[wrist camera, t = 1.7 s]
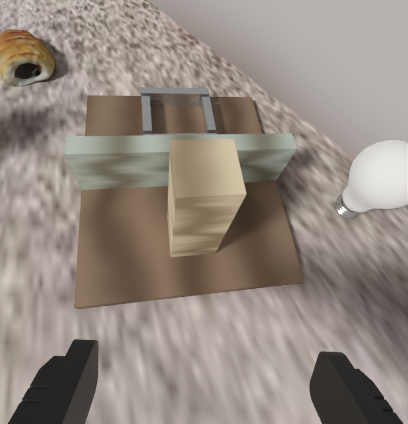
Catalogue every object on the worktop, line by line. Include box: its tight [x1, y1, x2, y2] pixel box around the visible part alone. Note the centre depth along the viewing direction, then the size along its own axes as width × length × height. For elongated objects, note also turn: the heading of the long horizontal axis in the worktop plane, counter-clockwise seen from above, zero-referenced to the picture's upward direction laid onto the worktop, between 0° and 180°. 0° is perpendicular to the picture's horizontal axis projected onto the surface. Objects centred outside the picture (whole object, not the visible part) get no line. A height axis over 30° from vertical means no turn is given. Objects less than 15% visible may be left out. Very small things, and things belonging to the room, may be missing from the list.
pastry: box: [0, 30, 55, 87], centre depth 37 cm, size 9×7×4 cm
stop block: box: [167, 139, 246, 257], centre depth 24 cm, size 4×4×12 cm
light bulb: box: [334, 140, 408, 218], centre depth 29 cm, size 7×7×11 cm
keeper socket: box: [141, 87, 217, 135], centre depth 35 cm, size 8×8×2 cm
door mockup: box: [64, 96, 305, 309], centre depth 30 cm, size 22×26×7 cm
